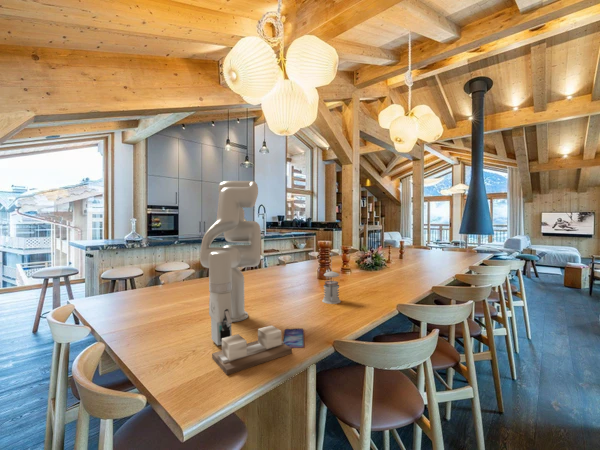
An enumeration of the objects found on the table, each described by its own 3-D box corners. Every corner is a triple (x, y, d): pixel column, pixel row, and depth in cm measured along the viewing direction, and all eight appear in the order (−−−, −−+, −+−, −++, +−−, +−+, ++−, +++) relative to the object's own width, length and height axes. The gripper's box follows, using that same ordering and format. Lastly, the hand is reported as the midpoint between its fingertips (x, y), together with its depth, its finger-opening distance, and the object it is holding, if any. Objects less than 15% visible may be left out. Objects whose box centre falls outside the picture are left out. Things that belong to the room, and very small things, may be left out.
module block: (211, 339, 104) (211, 316, 103) (225, 335, 107) (224, 313, 106) (217, 345, 99) (217, 322, 98) (231, 341, 102) (231, 319, 101)
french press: (340, 298, 156) (340, 251, 155) (341, 305, 145) (341, 254, 144) (322, 297, 157) (322, 251, 156) (321, 304, 146) (321, 254, 145)
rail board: (212, 358, 92) (211, 336, 92) (272, 340, 105) (272, 321, 105) (226, 375, 82) (226, 351, 82) (291, 353, 95) (291, 332, 95)
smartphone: (282, 346, 99) (284, 328, 114) (282, 349, 99) (284, 331, 114) (303, 345, 99) (303, 328, 114) (303, 348, 99) (303, 330, 114)
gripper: (201, 283, 106) (202, 331, 108) (219, 294, 92) (220, 350, 94) (221, 279, 111) (222, 326, 112) (241, 290, 97) (242, 343, 98)
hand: (221, 336), depth 103 cm, fingers closed on module block, 6 cm apart
